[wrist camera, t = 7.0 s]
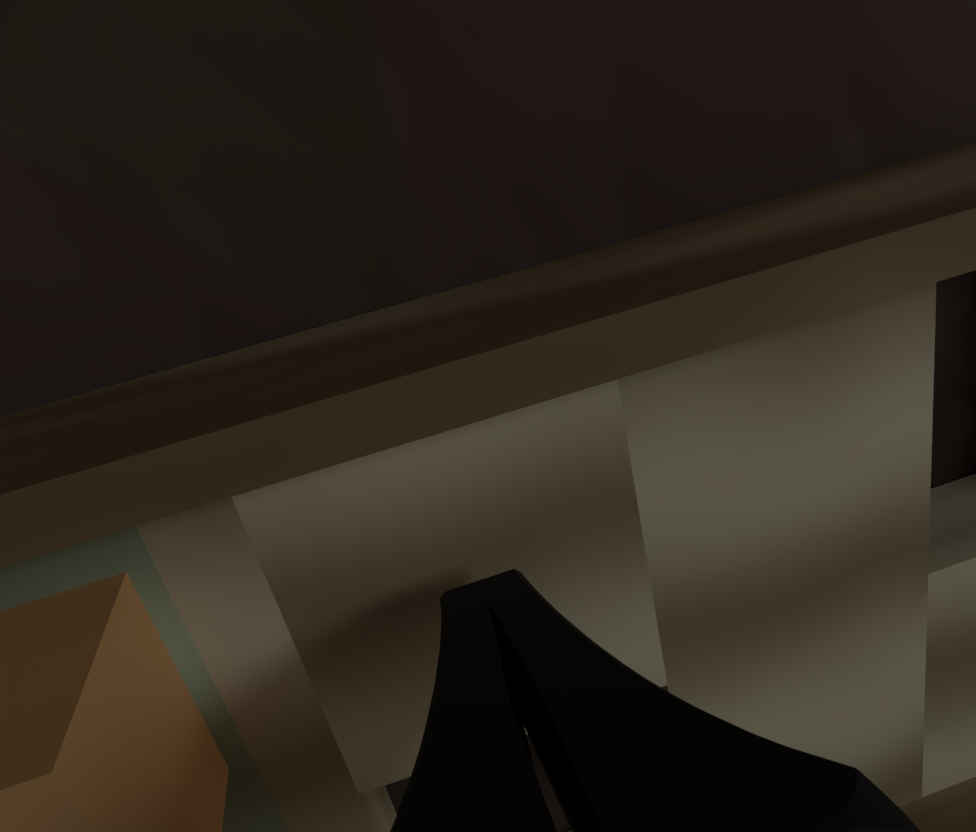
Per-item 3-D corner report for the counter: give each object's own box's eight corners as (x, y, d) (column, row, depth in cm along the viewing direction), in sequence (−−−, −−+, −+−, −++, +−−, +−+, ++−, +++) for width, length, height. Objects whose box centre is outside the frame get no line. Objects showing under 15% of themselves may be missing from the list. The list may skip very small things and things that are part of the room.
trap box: (1070, 668, 22) (1204, 767, 19) (112, 1028, 19) (73, 1222, 16) (1148, 92, 16) (1375, 90, 12) (-298, 501, 13) (-513, 645, 9)
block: (228, 767, 14) (203, 1000, 10) (-25, 855, 13) (-143, 1130, 10) (126, 572, 12) (51, 772, 8) (-172, 664, 12) (-387, 920, 8)
